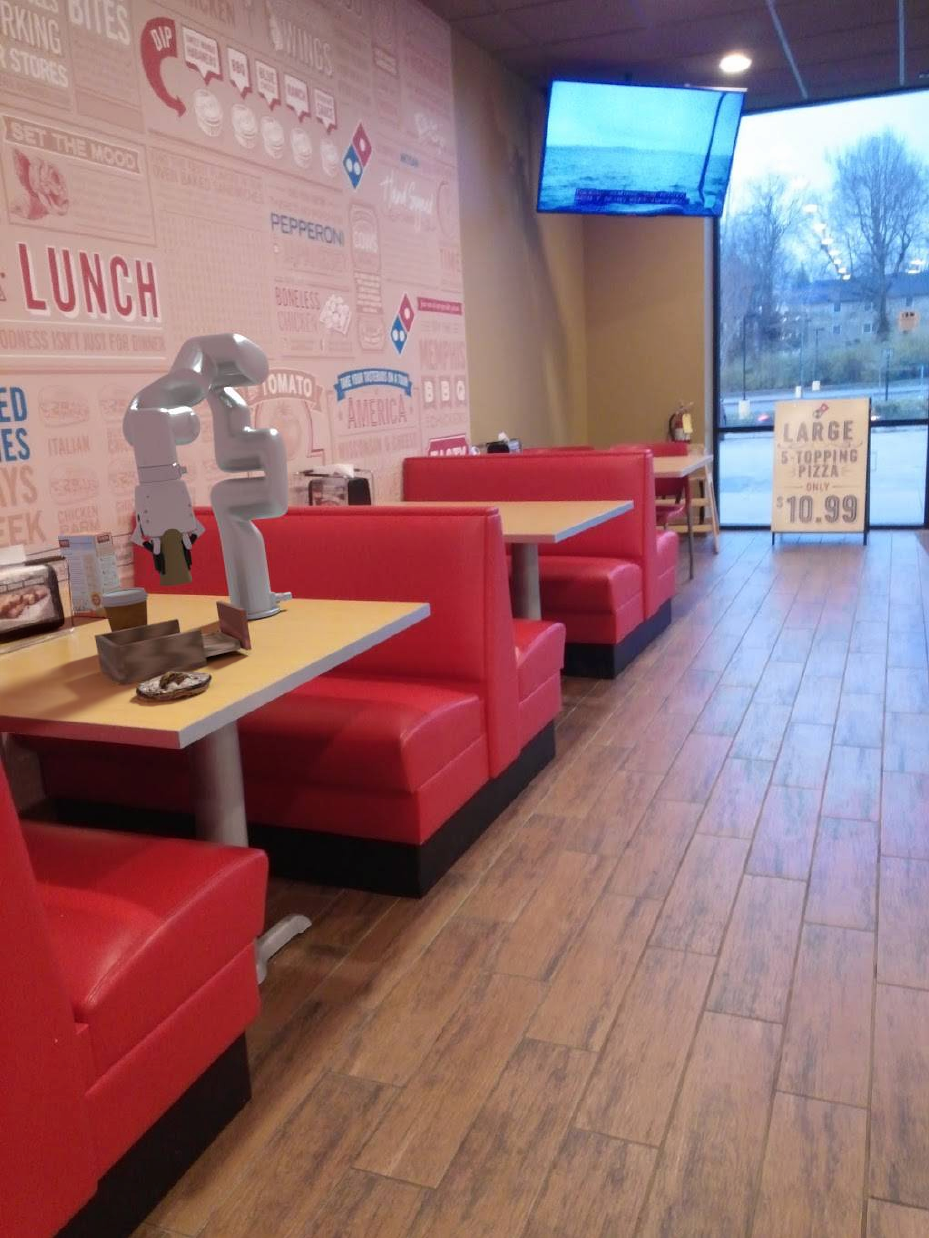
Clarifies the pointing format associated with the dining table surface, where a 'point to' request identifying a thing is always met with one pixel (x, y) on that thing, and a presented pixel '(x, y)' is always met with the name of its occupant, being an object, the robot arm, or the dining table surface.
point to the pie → (173, 686)
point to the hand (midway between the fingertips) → (174, 570)
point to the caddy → (149, 651)
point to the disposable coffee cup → (125, 608)
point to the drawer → (228, 631)
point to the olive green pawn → (173, 559)
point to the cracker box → (90, 570)
